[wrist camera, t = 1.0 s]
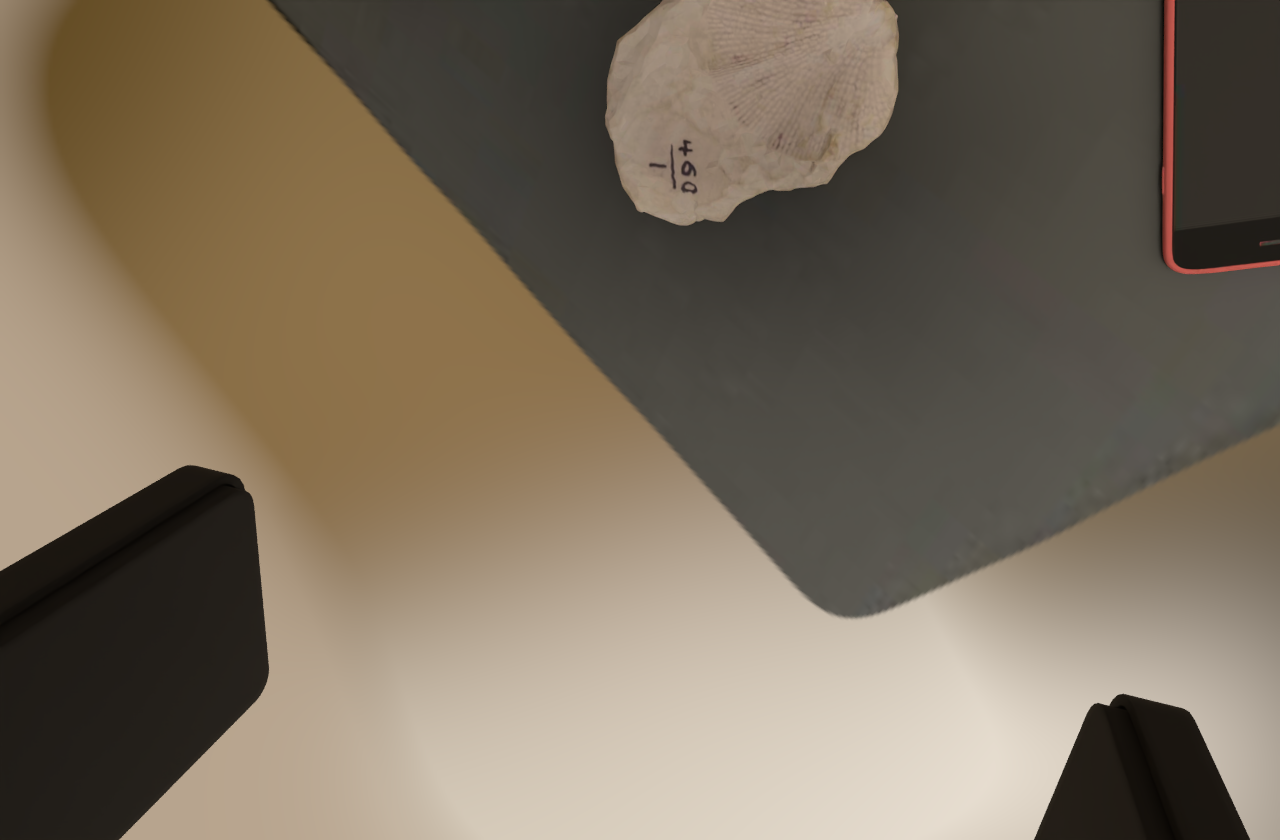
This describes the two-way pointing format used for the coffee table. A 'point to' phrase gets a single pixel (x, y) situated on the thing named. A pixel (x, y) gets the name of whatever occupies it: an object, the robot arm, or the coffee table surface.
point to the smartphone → (1221, 135)
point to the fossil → (746, 99)
